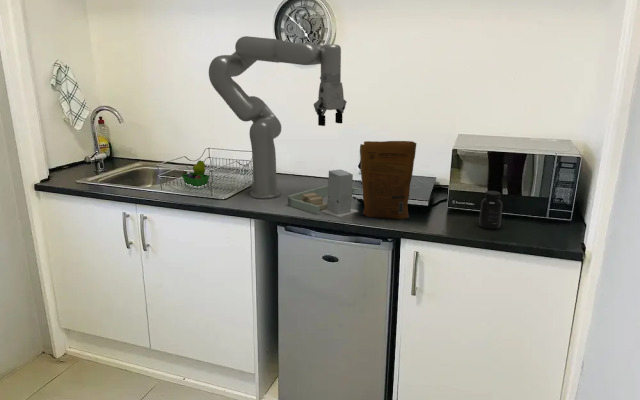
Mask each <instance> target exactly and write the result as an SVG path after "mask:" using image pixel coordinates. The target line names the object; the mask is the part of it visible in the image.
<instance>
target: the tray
mask: <svg viewBox="0 0 640 400" xmlns="http://www.w3.org/2000/svg"><path fill="white" fill-rule="evenodd" d="M361 189H362V188H358V187H354V186H352V193H353V192H354V190H361ZM310 193H315V194H317V195H318V196H320V197H322V198H324V197H328V184H326V185H323V186H319V187H315V188H312V189H308V190H305V191H301V192H297V193H293V194H288V195H287V205H288V207H292V208H294V209H298V210H302V211H305V212H307V213H311V214H314V215H320V214H321V212H320V206H317V205H313V204H310V203H307V202H303V201H300V200H302V194H310Z"/></svg>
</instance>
